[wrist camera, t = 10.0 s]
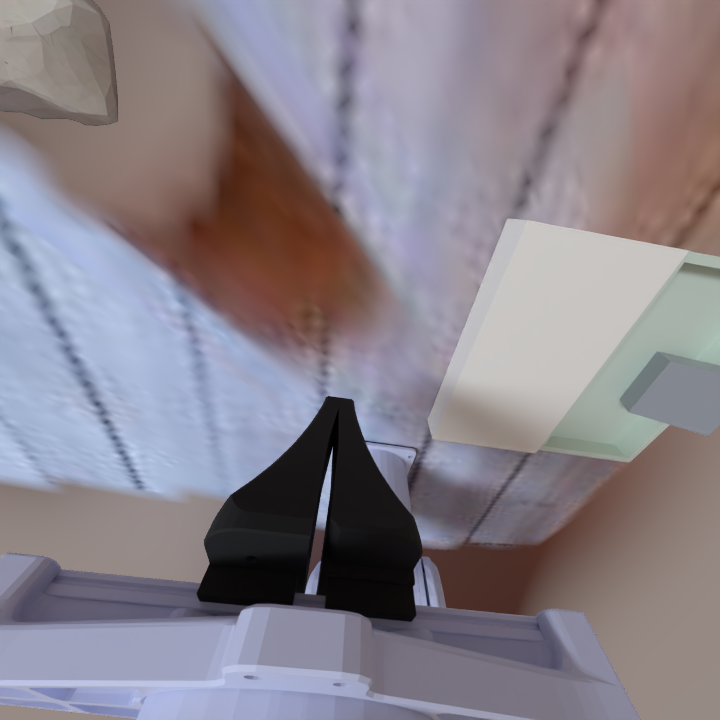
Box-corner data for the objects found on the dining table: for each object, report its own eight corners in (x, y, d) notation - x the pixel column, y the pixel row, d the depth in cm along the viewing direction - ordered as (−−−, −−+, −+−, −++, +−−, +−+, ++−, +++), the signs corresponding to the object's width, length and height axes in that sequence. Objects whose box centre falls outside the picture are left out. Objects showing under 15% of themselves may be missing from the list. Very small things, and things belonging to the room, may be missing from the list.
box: (612, 446, 27) (629, 462, 25) (523, 433, 26) (534, 449, 25) (782, 270, 18) (826, 277, 16) (651, 245, 17) (683, 250, 16)
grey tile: (628, 412, 22) (619, 399, 23) (707, 435, 20) (692, 420, 22) (670, 361, 19) (657, 351, 21) (765, 383, 18) (742, 370, 19)
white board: (521, 433, 26) (535, 453, 24) (427, 420, 26) (432, 439, 24) (649, 245, 17) (689, 250, 15) (507, 218, 17) (527, 220, 15)
